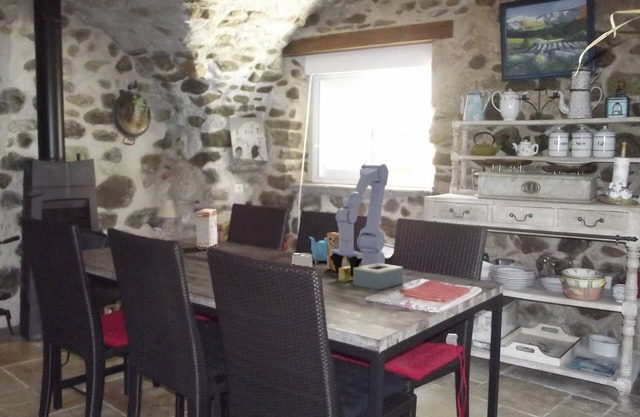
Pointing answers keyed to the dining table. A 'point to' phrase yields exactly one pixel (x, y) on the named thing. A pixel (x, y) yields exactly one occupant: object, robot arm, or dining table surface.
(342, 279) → the gold block
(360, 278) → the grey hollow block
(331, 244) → the candy box
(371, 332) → the dining table surface
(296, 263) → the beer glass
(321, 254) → the teapot
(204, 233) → the coffeecake box
